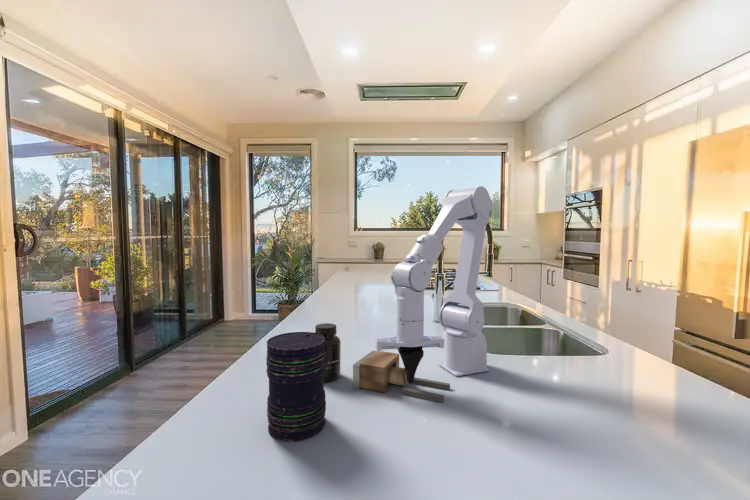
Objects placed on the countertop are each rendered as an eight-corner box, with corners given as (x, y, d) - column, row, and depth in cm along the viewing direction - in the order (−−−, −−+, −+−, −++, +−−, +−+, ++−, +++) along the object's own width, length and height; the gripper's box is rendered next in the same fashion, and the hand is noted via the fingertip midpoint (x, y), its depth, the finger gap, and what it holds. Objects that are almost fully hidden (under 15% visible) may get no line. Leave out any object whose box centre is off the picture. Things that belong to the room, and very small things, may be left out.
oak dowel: (406, 386, 75) (408, 369, 76) (401, 384, 72) (404, 367, 73) (376, 381, 77) (379, 365, 79) (371, 379, 74) (374, 362, 76)
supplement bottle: (335, 384, 75) (335, 330, 74) (306, 381, 76) (305, 328, 75) (344, 372, 81) (344, 322, 81) (317, 369, 83) (316, 321, 82)
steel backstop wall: (378, 371, 81) (378, 351, 81) (359, 389, 72) (359, 366, 72) (372, 370, 82) (372, 350, 82) (353, 387, 73) (352, 365, 73)
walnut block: (399, 376, 79) (399, 353, 78) (384, 392, 70) (384, 367, 70) (377, 372, 81) (377, 350, 81) (360, 387, 73) (360, 363, 72)
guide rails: (449, 388, 73) (449, 383, 73) (442, 402, 66) (442, 397, 66) (412, 381, 76) (412, 376, 76) (402, 394, 70) (402, 389, 70)
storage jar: (297, 450, 52) (296, 353, 51) (254, 430, 57) (253, 342, 56) (337, 420, 60) (337, 336, 60) (297, 405, 65) (296, 328, 65)
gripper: (437, 313, 77) (436, 372, 78) (373, 315, 75) (373, 375, 76) (448, 320, 70) (447, 385, 71) (378, 323, 68) (378, 389, 69)
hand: (409, 381), depth 73 cm, fingers closed
